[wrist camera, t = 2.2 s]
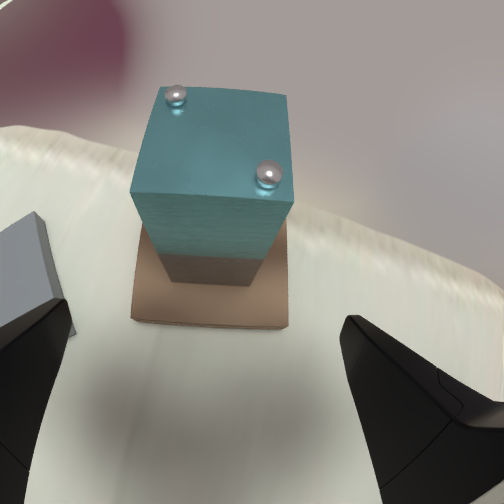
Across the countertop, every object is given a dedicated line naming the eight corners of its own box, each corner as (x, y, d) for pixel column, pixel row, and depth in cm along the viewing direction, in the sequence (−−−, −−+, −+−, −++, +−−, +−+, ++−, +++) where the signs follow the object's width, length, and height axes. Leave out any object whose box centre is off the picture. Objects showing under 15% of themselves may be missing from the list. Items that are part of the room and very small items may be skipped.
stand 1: (76, 333, 18) (64, 330, 17) (-8, 374, 16) (-22, 374, 14) (44, 221, 21) (33, 210, 19) (-31, 269, 18) (-43, 262, 16)
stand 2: (281, 329, 21) (288, 326, 19) (137, 321, 19) (130, 317, 18) (279, 201, 24) (284, 188, 22) (154, 194, 23) (150, 180, 21)
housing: (249, 286, 19) (297, 195, 9) (171, 282, 19) (126, 185, 8) (250, 216, 21) (288, 87, 10) (179, 211, 20) (159, 79, 10)
